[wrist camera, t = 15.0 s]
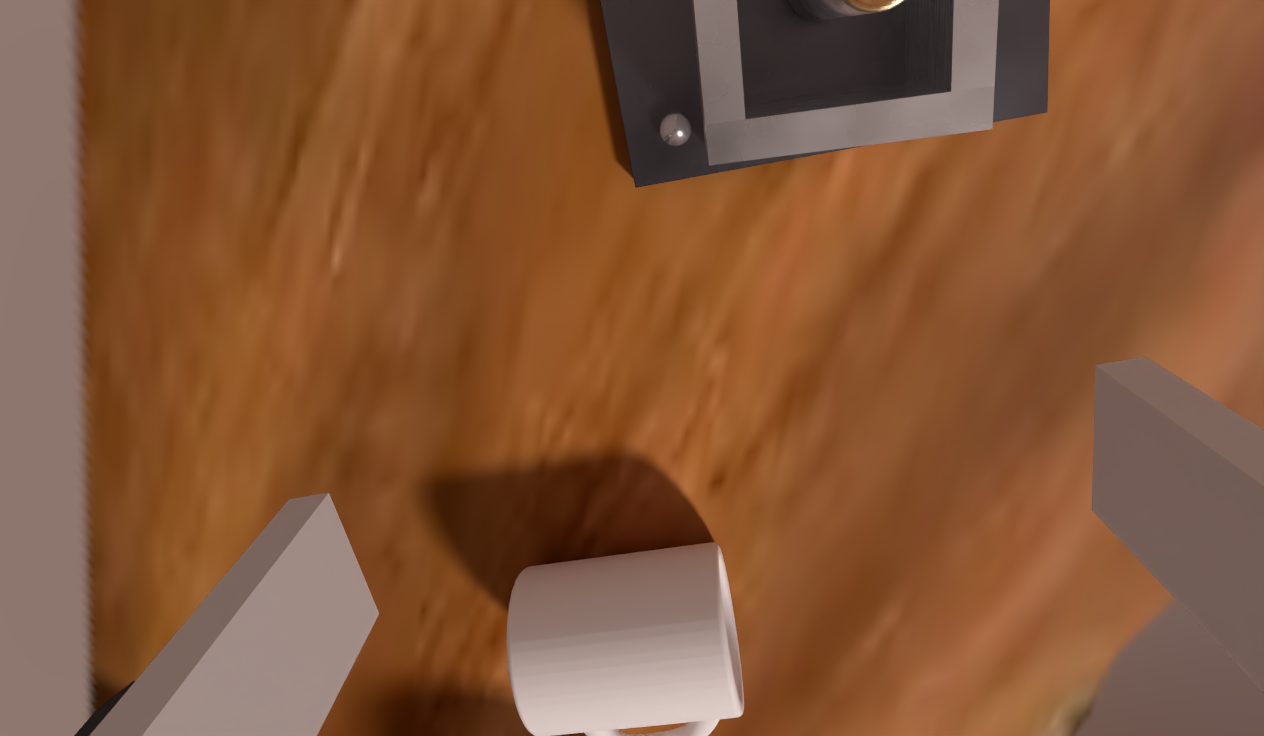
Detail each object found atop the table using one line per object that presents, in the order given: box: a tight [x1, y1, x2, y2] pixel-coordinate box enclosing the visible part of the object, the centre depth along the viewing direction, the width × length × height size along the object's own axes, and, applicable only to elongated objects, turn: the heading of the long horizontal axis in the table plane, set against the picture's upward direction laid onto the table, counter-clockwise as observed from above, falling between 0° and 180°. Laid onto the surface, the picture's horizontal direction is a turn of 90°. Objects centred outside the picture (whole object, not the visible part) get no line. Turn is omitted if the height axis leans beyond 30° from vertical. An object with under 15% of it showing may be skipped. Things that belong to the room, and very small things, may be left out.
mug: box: [507, 542, 744, 736], centre depth 38 cm, size 12×10×8 cm
